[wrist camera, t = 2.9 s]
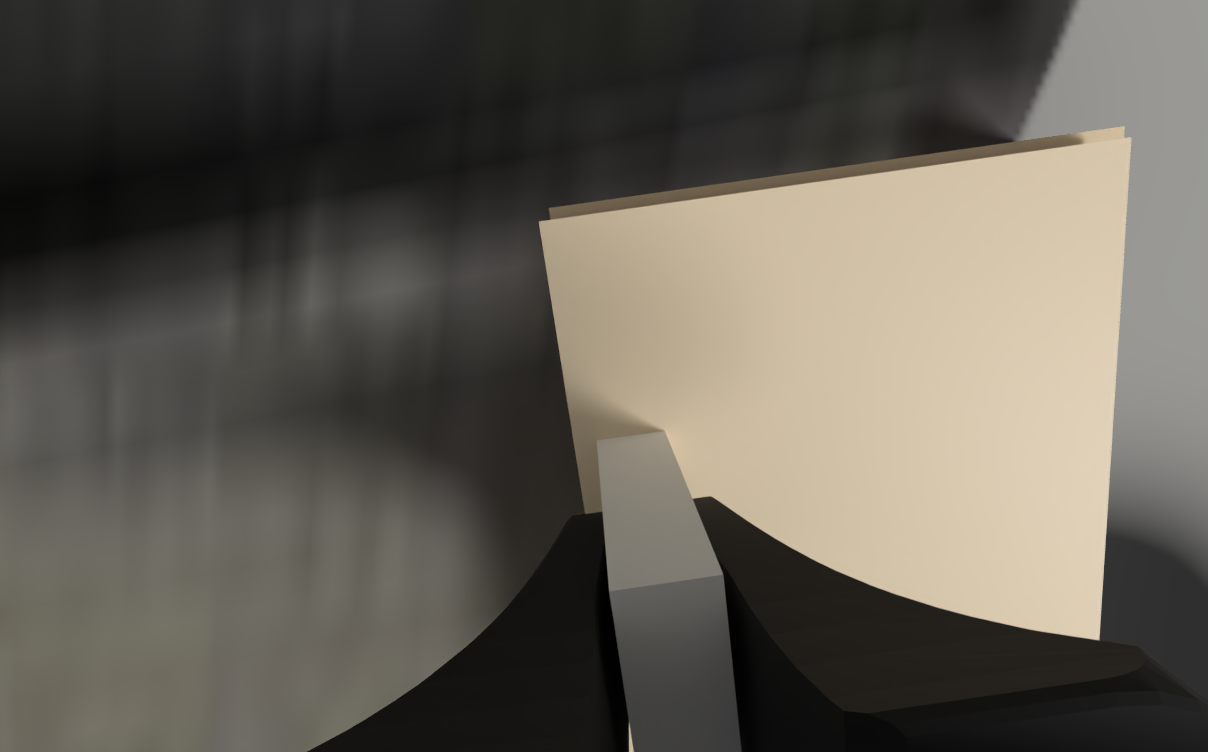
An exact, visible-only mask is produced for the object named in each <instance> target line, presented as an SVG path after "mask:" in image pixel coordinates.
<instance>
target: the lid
mask: <svg viewBox="0 0 1208 752" xmlns="http://www.w3.org/2000/svg"><path fill="white" fill-rule="evenodd" d="M1130 151H1131V137H1129V138H1122V139H1115V140H1108V141H1101V142H1094V143H1087V144H1080V145H1073V146H1066V147H1059V148H1052V149H1045V150H1038V151H1031V152H1024V153H1017V154H1010V155H1003V156H996V157H989V158H982V159H975V160H968V161H961V162H954V163H947V164H940V165H933V166H926V167H918V168H911V169H904V170H897V171H890V172H883V173H876V174H869V175H862V176H855V177H848V178H841V179H834V180H827V181H820V182H813V183H806V184H799V185H792V186H785V187H778V188H771V189H764V190H757V191H750V192H743V193H736V194H729V195H722V196H715V197H708V198H701V199H694V200H687V201H680V202H672V203H665V204H658V205H651V206H644V207H637V208H630V209H623V210H616V211H609V212H602V213H595V214H588V215H581V216H574V217H567V218H560V219H553V220H546V221H539V227H540V233H541V239H542V246H543V252H544V258H545V265H546V271H547V277H548V283H549V290H550V296H551V302H552V309H553V315H554V321H555V328H556V334H557V340H558V346H559V353H560V359H561V365H562V372H563V378H564V384H565V391H566V397H567V403H568V409H569V416H570V422H571V428H572V435H573V441H574V447H575V454H576V460H577V466H578V472H579V479H580V485H581V491H582V498H583V504H584V510H585V514H589V513H596V512H603V524H604V536H605V548H606V560H607V572H608V584H609V594H610V601H611V607H612V614H613V620H614V627H615V633H616V640H617V646H618V653H619V659H620V666H621V672H622V679H623V685H624V692H625V698H626V705H627V711H628V718H629V752H741V742H740V733H739V723H738V713H737V703H736V693H735V684H734V674H733V664H732V654H731V645H730V635H729V625H728V615H727V606H726V596H725V586H724V576H723V573H722V570H721V568H720V565H719V563H718V560H717V558H716V555H715V553H714V551H713V548H712V546H711V543H710V541H709V538H708V536H707V533H706V531H705V528H704V526H703V523H702V521H701V519H700V516H699V514H698V511H697V509H696V506H695V504H694V501H693V499H694V498H701V497H708V496H712V497H713V498H715V499H716V500H718V501H719V502H721V503H722V504H724V505H725V506H727V507H728V508H729V509H731V510H732V511H734V512H735V513H737V514H738V515H740V516H741V517H743V518H744V519H745V520H747V521H748V522H750V523H751V524H753V525H755V526H756V527H758V528H759V529H761V530H762V531H764V532H765V533H767V534H769V535H770V536H772V537H774V538H775V539H777V540H779V541H780V542H782V543H784V544H785V545H787V546H789V547H791V548H792V549H794V550H796V551H798V552H800V553H802V554H804V555H806V556H807V557H809V558H811V559H813V560H815V561H817V562H819V563H821V564H823V565H825V566H827V567H829V568H831V569H834V570H836V571H838V572H840V573H843V574H845V575H847V576H850V577H852V578H855V579H857V580H859V581H862V582H864V583H867V584H869V585H871V586H874V587H877V588H879V589H882V590H885V591H888V592H891V593H893V594H896V595H899V596H903V597H906V598H909V599H912V600H915V601H918V602H922V603H925V604H928V605H931V606H934V607H938V608H941V609H945V610H948V611H952V612H956V613H960V614H964V615H967V616H971V617H975V618H980V619H984V620H989V621H993V622H998V623H1002V624H1007V625H1011V626H1016V627H1020V628H1025V629H1030V630H1035V631H1042V632H1048V633H1055V634H1061V635H1068V636H1074V637H1081V638H1087V639H1094V640H1099V634H1100V618H1101V603H1102V588H1103V572H1104V556H1105V540H1106V525H1107V509H1108V494H1109V479H1110V461H1111V447H1112V432H1113V431H1112V430H1113V416H1114V401H1115V400H1114V399H1115V385H1116V369H1117V354H1118V338H1119V323H1120V307H1121V292H1122V275H1123V260H1124V244H1125V229H1126V213H1127V197H1128V183H1129V167H1130V166H1129V165H1130Z"/></svg>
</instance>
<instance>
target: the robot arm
mask: <svg viewBox="0 0 1208 752" xmlns="http://www.w3.org/2000/svg"><path fill="white" fill-rule="evenodd" d="M693 501H694V504H695V506H696V509H697V511H698V514H699V516H700V519H701V521H702V523H703V526H704V528H705V531H706V533H707V536H708V538H709V541H710V543H711V546H712V548H713V551H714V553H715V555H716V558H717V560H718V563H719V565H720V568H721V570H722V573H723V576H724V586H725V596H726V606H727V615H728V625H729V635H730V645H731V654H732V664H733V674H734V684H735V693H736V703H737V713H738V723H739V733H740V742H741V752H1208V699H1206V698H1205V697H1204V696H1203V695H1201V694H1200V693H1198V692H1197V691H1196V690H1195V689H1193V688H1192V687H1191V686H1189V685H1188V684H1187V683H1186V682H1184V681H1183V680H1181V679H1180V678H1179V677H1178V676H1176V675H1175V674H1174V673H1172V672H1171V671H1169V670H1168V669H1167V668H1166V667H1165V666H1163V665H1162V664H1161V663H1159V662H1158V661H1157V660H1155V659H1154V658H1153V657H1151V656H1150V655H1149V654H1147V653H1146V652H1145V651H1143V650H1142V649H1141V648H1139V647H1137V646H1133V645H1126V644H1120V643H1113V642H1106V641H1100V640H1094V639H1087V638H1081V637H1074V636H1068V635H1061V634H1055V633H1048V632H1042V631H1035V630H1030V629H1025V628H1020V627H1016V626H1011V625H1007V624H1002V623H998V622H993V621H989V620H984V619H980V618H975V617H971V616H967V615H964V614H960V613H956V612H952V611H948V610H945V609H941V608H938V607H934V606H931V605H928V604H925V603H922V602H918V601H915V600H912V599H909V598H906V597H903V596H899V595H896V594H893V593H891V592H888V591H885V590H882V589H879V588H877V587H874V586H871V585H869V584H867V583H864V582H862V581H859V580H857V579H855V578H852V577H850V576H847V575H845V574H843V573H840V572H838V571H836V570H834V569H831V568H829V567H827V566H825V565H823V564H821V563H819V562H817V561H815V560H813V559H811V558H809V557H807V556H806V555H804V554H802V553H800V552H798V551H796V550H794V549H792V548H791V547H789V546H787V545H785V544H784V543H782V542H780V541H779V540H777V539H775V538H774V537H772V536H770V535H769V534H767V533H765V532H764V531H762V530H761V529H759V528H758V527H756V526H755V525H753V524H751V523H750V522H748V521H747V520H745V519H744V518H743V517H741V516H740V515H738V514H737V513H735V512H734V511H732V510H731V509H729V508H728V507H727V506H725V505H724V504H722V503H721V502H719V501H718V500H716V499H715V498H713V497H712V496H708V497H701V498H694V499H693ZM308 752H629V718H628V711H627V705H626V698H625V692H624V685H623V679H622V672H621V666H620V659H619V653H618V646H617V640H616V633H615V627H614V620H613V614H612V607H611V601H610V594H609V584H608V572H607V560H606V548H605V536H604V524H603V512H596V513H589V514H582V515H575V516H571V518H570V519H569V520H568V521H567V523H566V524H565V526H564V528H563V529H562V531H561V533H560V535H559V536H558V538H557V539H556V541H555V543H554V544H553V546H552V547H551V549H550V551H549V552H548V554H547V555H546V557H545V558H544V559H543V561H542V562H541V564H540V565H539V567H538V568H537V570H536V571H535V572H534V574H533V575H532V577H531V578H530V579H529V581H528V582H527V583H526V584H525V586H524V587H523V588H522V589H521V591H520V592H519V593H518V594H517V596H516V597H515V598H514V599H513V600H512V602H511V603H510V604H509V605H508V607H507V608H506V609H505V610H504V611H503V612H502V613H501V614H500V615H499V616H498V617H497V618H496V619H495V620H494V621H493V622H492V623H491V624H490V625H489V626H488V627H487V628H486V629H485V630H484V631H483V632H482V633H481V634H480V635H479V636H478V637H477V638H476V639H475V640H473V641H472V642H471V643H470V644H469V645H468V646H467V647H465V648H464V649H463V650H462V651H460V652H459V653H458V654H457V655H455V656H454V657H453V658H452V659H451V660H449V661H448V662H447V663H446V664H444V665H443V666H442V667H441V668H439V669H438V670H437V671H436V672H434V673H433V674H432V675H431V676H429V677H428V678H427V679H425V680H424V681H423V682H421V683H420V684H419V685H417V686H416V687H414V688H413V689H411V690H410V691H408V692H407V693H406V694H404V695H403V696H401V697H400V698H398V699H397V700H395V701H394V702H392V703H391V704H389V705H388V706H386V707H384V708H383V709H381V710H380V711H378V712H377V713H375V714H373V715H372V716H370V717H369V718H367V719H365V720H364V721H362V722H360V723H359V724H357V725H355V726H354V727H352V728H350V729H349V730H347V731H345V732H343V733H341V734H339V735H338V736H336V737H334V738H332V739H330V740H328V741H326V742H325V743H323V744H321V745H319V746H317V747H315V748H313V749H311V750H310V751H308Z"/></svg>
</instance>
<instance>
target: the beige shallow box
mask: <svg viewBox="0 0 1208 752" xmlns="http://www.w3.org/2000/svg"><path fill="white" fill-rule="evenodd" d="M1124 128H1125V127H1124V126H1123V127H1116V128H1109V129H1102V130H1095V131H1088V132H1081V133H1074V134H1067V135H1060V136H1052V137H1045V138H1038V139H1031V140H1024V141H1017V142H1010V143H1003V144H996V145H989V146H982V147H975V148H968V149H961V150H954V151H947V152H940V153H933V154H926V155H919V156H912V157H905V158H898V159H891V160H884V161H877V162H870V163H863V164H855V165H848V166H841V167H834V168H827V169H820V170H813V171H806V172H799V173H792V174H785V175H778V176H771V177H764V178H757V179H750V180H743V181H736V182H729V183H722V184H715V185H708V186H701V187H694V188H687V189H680V190H673V191H666V192H659V193H652V194H644V195H637V196H630V197H623V198H616V199H609V200H602V201H595V202H588V203H581V204H574V205H567V206H560V207H553V208H549V213H550V220H553V219H560V218H567V217H574V216H581V215H588V214H595V213H602V212H609V211H616V210H623V209H630V208H637V207H644V206H651V205H658V204H665V203H672V202H680V201H687V200H694V199H701V198H708V197H715V196H722V195H729V194H736V193H743V192H750V191H757V190H764V189H771V188H778V187H785V186H792V185H799V184H806V183H813V182H820V181H827V180H834V179H841V178H848V177H855V176H862V175H869V174H876V173H883V172H890V171H897V170H904V169H911V168H918V167H926V166H933V165H940V164H947V163H954V162H961V161H968V160H975V159H982V158H989V157H996V156H1003V155H1010V154H1017V153H1024V152H1031V151H1038V150H1045V149H1052V148H1059V147H1066V146H1073V145H1080V144H1087V143H1094V142H1101V141H1108V140H1115V139H1122V138H1124Z"/></svg>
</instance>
